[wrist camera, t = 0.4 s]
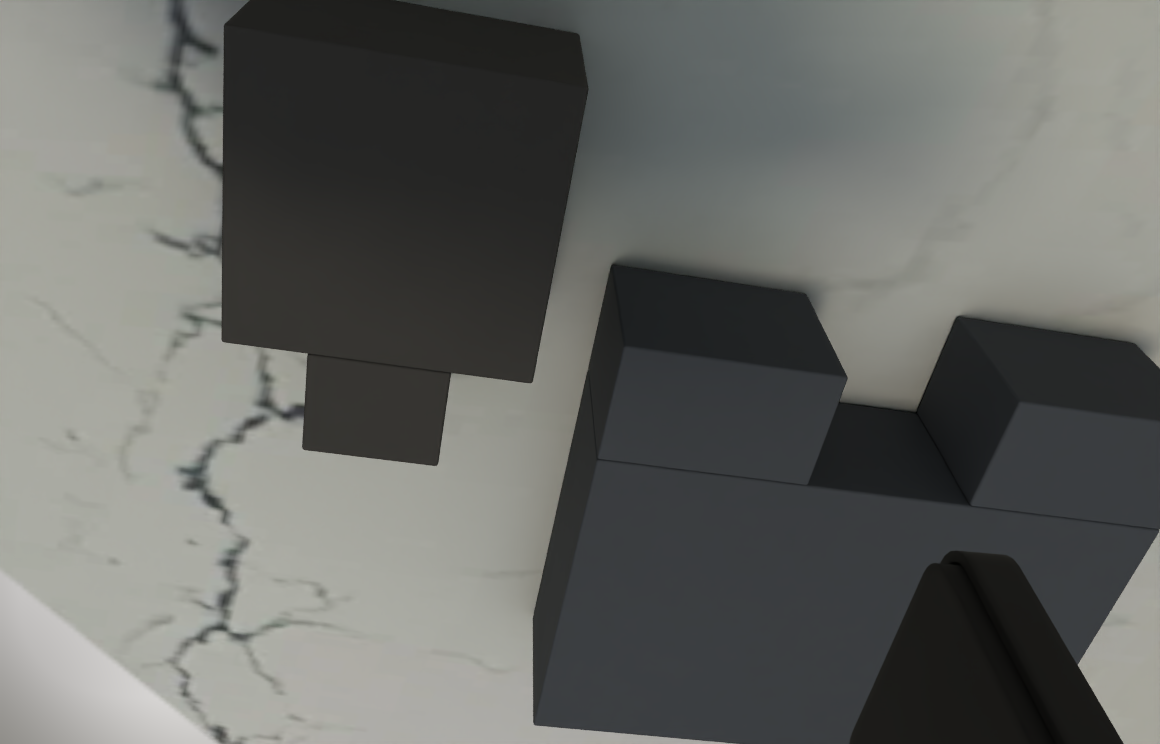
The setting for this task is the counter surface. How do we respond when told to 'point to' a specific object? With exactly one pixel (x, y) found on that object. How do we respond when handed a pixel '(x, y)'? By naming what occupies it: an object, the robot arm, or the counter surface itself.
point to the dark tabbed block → (393, 204)
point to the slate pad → (815, 507)
